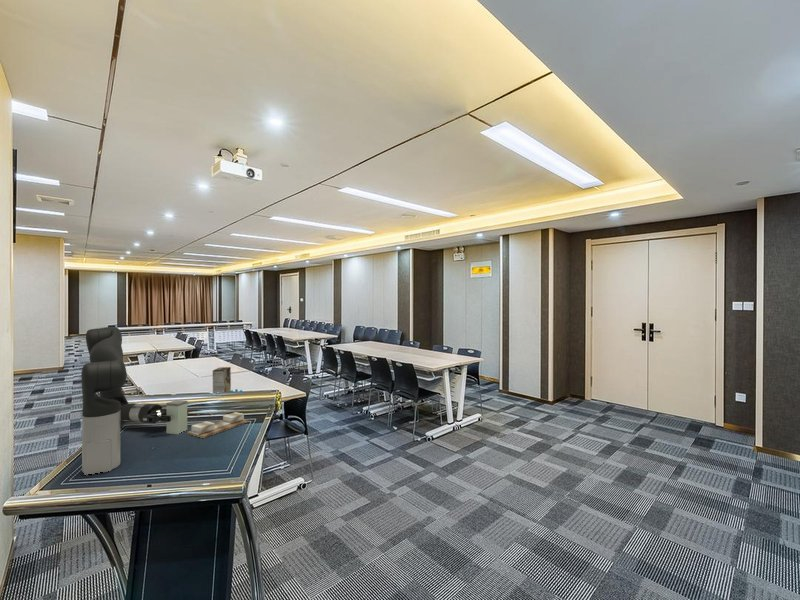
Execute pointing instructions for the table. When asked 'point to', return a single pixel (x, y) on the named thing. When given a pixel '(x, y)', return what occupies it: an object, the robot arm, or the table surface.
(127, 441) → the table surface
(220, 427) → the rail board
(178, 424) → the block
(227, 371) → the coffee box
